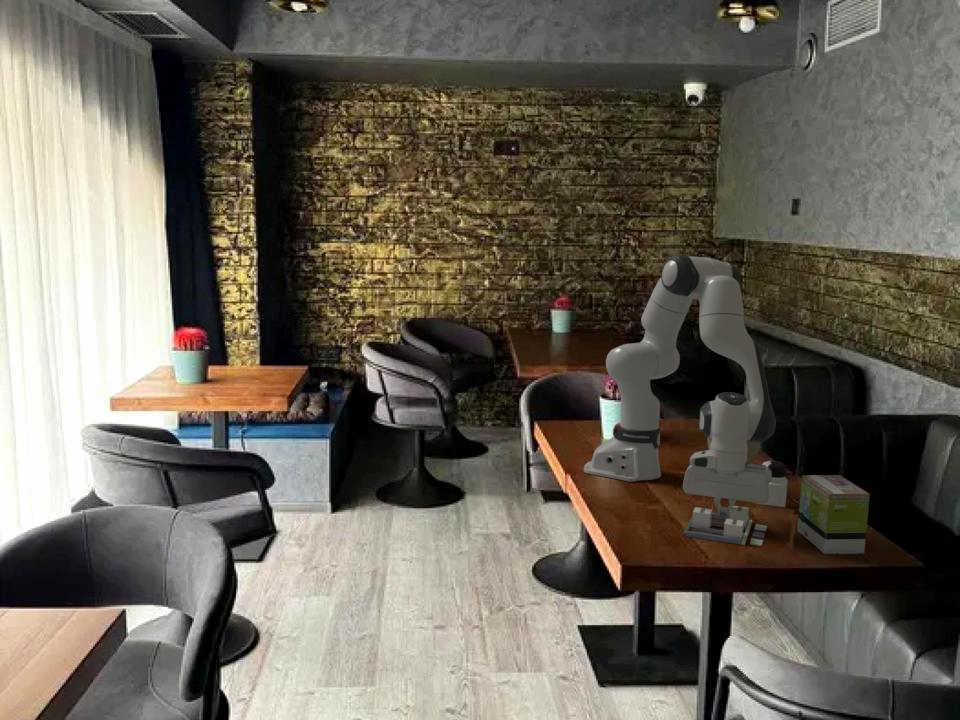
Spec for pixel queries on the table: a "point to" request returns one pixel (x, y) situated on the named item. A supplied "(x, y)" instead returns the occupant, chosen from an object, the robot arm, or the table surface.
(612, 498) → the table surface
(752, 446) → the planter bowl
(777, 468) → the medicine bottle
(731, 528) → the tab
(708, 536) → the switch bank
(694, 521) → the white slotted cube
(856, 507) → the tea box
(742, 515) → the tab
